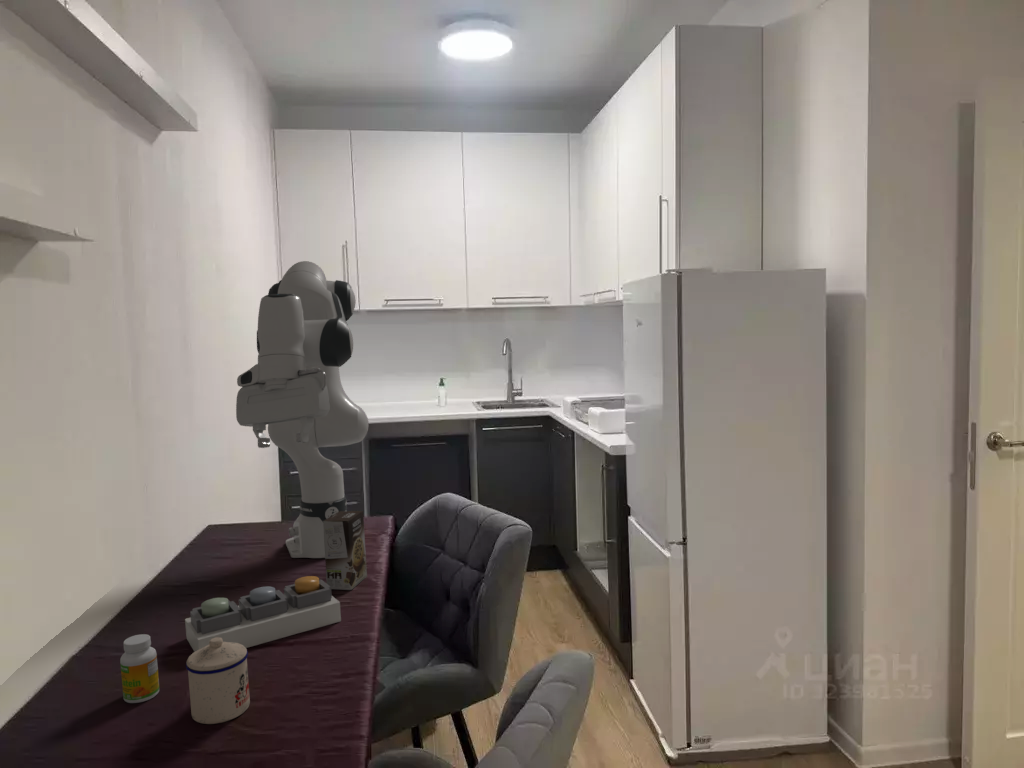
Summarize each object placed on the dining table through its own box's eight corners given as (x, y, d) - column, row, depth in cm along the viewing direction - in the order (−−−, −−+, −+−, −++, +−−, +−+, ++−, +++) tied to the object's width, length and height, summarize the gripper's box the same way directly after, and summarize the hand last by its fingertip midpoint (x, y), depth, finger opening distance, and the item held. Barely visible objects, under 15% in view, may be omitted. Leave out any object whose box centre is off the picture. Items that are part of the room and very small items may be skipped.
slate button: (247, 600, 145) (246, 590, 144) (271, 594, 147) (271, 584, 147) (254, 607, 141) (253, 597, 140) (278, 601, 143) (278, 591, 143)
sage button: (199, 611, 139) (198, 601, 139) (225, 605, 142) (224, 595, 142) (205, 619, 136) (204, 609, 135) (231, 613, 138) (231, 603, 138)
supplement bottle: (116, 703, 118) (110, 646, 117) (137, 686, 123) (132, 631, 122) (146, 704, 117) (141, 647, 116) (166, 687, 123) (161, 632, 122)
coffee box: (352, 590, 164) (348, 521, 162) (326, 589, 165) (321, 520, 164) (368, 576, 173) (364, 510, 171) (343, 575, 174) (339, 509, 173)
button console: (186, 638, 142) (184, 606, 141) (320, 603, 157) (318, 574, 156) (199, 660, 132) (197, 627, 131) (341, 621, 147) (339, 590, 147)
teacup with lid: (250, 719, 112) (244, 646, 111) (186, 731, 109) (180, 656, 108) (254, 682, 123) (249, 616, 122) (196, 692, 121) (190, 625, 119)
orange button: (292, 589, 150) (291, 579, 149) (314, 583, 152) (314, 574, 152) (299, 595, 146) (299, 586, 146) (322, 590, 148) (322, 580, 148)
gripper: (335, 368, 139) (337, 440, 136) (254, 383, 147) (254, 450, 145) (313, 363, 133) (315, 438, 131) (230, 378, 141) (230, 449, 139)
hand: (283, 445), depth 138 cm, fingers open, 8 cm apart
